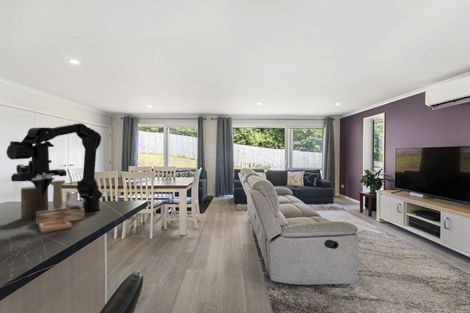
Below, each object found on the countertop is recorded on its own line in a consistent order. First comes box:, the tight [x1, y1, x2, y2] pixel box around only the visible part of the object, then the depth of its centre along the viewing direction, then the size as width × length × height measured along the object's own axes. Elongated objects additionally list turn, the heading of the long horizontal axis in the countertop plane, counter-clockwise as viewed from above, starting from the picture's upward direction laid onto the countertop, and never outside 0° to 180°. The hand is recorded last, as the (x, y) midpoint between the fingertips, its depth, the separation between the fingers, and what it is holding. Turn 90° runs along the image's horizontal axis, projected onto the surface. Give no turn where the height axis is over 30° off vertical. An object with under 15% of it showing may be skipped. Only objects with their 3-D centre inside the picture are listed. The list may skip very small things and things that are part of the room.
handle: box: [50, 179, 66, 209], centre depth 127 cm, size 5×6×15 cm
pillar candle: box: [20, 184, 49, 221], centre depth 115 cm, size 10×10×15 cm
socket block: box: [35, 205, 85, 226], centre depth 109 cm, size 16×8×4 cm, turn 135°
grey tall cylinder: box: [65, 191, 78, 211], centre depth 112 cm, size 4×4×9 cm
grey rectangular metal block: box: [36, 208, 55, 219], centre depth 105 cm, size 6×3×2 cm, turn 135°
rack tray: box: [38, 219, 72, 234], centre depth 99 cm, size 9×9×2 cm
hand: (41, 195), depth 105 cm, fingers closed
